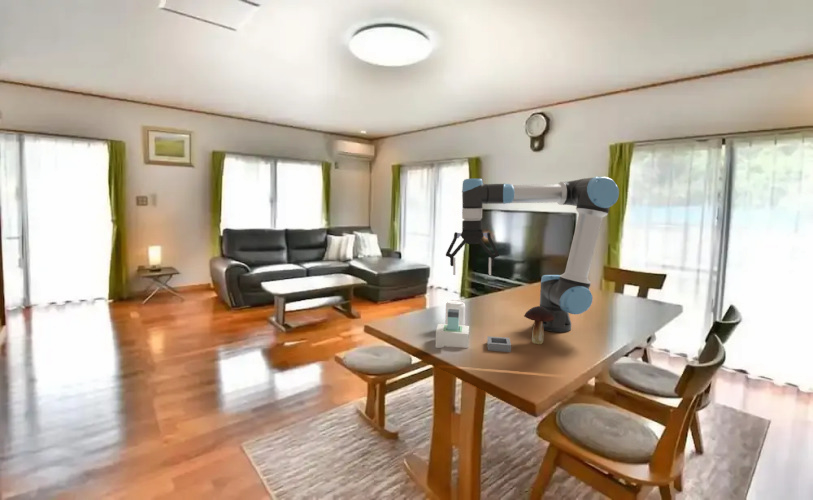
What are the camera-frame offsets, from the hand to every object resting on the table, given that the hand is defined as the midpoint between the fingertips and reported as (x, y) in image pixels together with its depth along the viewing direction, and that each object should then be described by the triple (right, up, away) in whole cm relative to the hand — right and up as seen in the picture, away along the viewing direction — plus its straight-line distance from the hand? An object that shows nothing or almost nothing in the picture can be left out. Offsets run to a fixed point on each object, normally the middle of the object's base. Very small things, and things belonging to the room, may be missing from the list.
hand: (472, 274), depth 155 cm
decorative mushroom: (+25, -27, -3) cm, 36 cm away
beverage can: (-5, -24, +14) cm, 29 cm away
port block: (-8, -26, -3) cm, 28 cm away
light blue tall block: (-8, -25, -4) cm, 27 cm away
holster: (+8, -27, -8) cm, 29 cm away
